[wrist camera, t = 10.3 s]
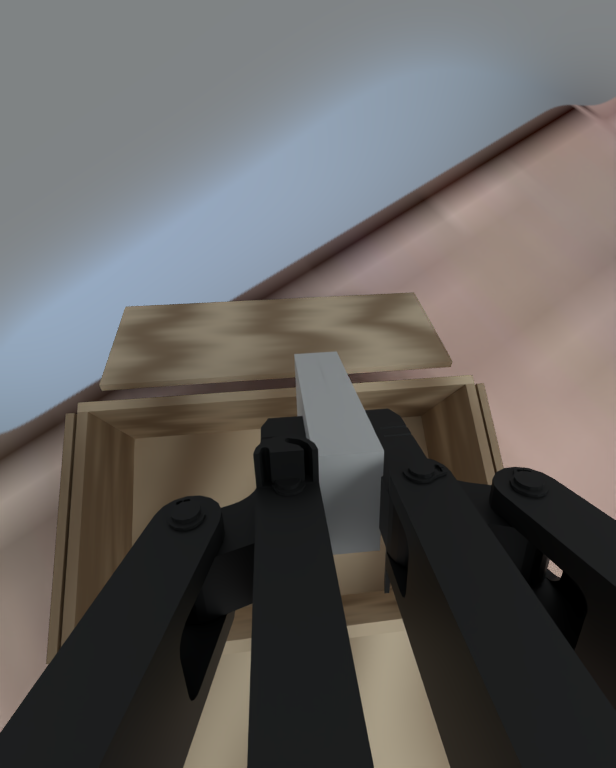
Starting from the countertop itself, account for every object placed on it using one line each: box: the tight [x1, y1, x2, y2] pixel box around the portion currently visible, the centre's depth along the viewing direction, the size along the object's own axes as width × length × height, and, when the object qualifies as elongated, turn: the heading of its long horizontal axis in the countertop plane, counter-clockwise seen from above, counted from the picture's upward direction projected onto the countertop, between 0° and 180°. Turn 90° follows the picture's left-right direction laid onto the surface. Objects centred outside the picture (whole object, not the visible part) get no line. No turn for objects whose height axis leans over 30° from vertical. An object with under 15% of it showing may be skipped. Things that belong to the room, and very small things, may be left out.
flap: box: [99, 293, 452, 391], centre depth 25 cm, size 19×1×7 cm
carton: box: [46, 375, 504, 768], centre depth 23 cm, size 22×19×8 cm
